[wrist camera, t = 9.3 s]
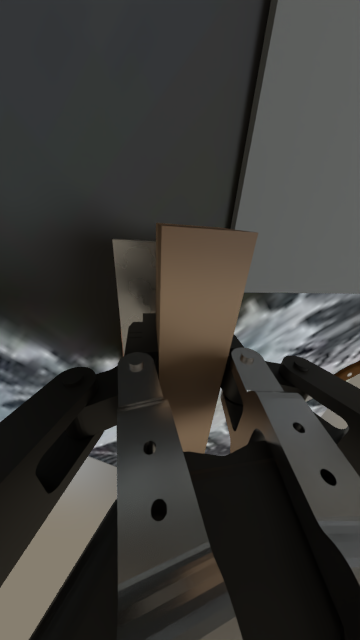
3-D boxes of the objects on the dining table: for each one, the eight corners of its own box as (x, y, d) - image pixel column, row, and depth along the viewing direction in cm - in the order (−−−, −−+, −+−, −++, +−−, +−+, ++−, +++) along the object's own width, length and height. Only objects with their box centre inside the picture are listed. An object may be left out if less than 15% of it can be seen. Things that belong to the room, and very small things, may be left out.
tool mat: (219, 288, 20) (223, 292, 19) (292, -122, 9) (307, -156, 9) (356, 290, 23) (364, 293, 22) (525, -18, 13) (553, -35, 12)
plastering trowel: (112, 218, 10) (63, 218, 4) (232, 227, 11) (327, 237, 5) (127, 386, 16) (117, 483, 10) (204, 381, 17) (234, 464, 11)
